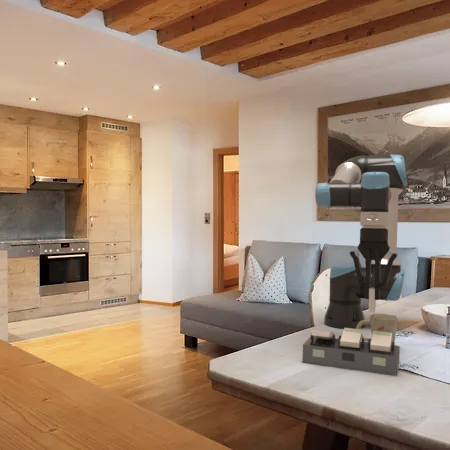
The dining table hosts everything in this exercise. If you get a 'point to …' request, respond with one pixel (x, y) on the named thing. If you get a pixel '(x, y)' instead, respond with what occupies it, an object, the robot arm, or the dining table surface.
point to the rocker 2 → (351, 337)
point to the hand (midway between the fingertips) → (372, 311)
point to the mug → (381, 324)
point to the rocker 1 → (322, 333)
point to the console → (350, 355)
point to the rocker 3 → (381, 341)
